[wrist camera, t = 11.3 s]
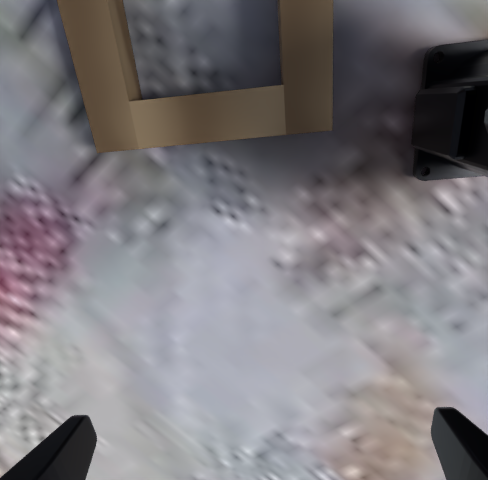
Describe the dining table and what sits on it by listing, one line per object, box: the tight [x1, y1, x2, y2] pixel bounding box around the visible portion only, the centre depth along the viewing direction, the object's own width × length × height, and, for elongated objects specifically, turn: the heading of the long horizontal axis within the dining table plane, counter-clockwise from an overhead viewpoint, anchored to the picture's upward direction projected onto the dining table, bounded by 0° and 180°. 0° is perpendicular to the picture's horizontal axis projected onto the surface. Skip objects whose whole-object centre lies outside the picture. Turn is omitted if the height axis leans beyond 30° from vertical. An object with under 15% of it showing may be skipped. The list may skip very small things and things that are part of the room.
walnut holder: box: [57, 0, 333, 153], centre depth 15 cm, size 12×12×2 cm
